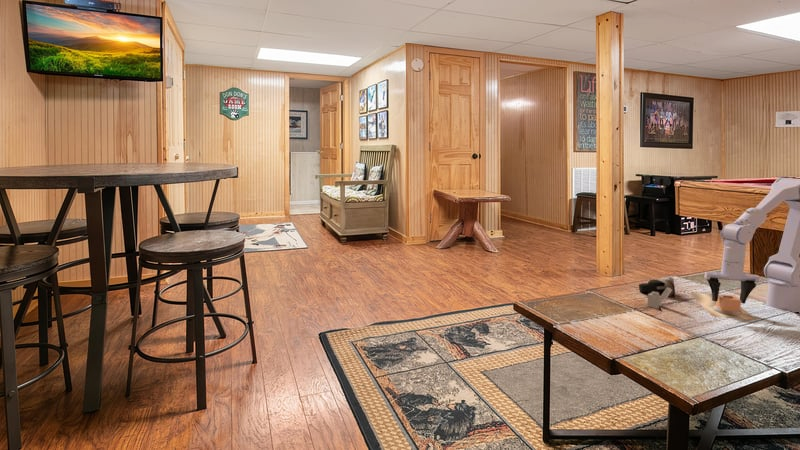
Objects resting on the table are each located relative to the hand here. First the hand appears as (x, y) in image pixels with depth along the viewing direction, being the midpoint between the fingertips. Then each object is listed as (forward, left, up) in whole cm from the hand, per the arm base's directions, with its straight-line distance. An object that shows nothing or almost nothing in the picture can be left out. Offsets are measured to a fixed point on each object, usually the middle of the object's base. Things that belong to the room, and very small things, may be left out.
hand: (728, 301), depth 146 cm
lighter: (+20, 0, -5) cm, 21 cm away
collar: (0, 0, -3) cm, 3 cm away
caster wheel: (+18, -16, -5) cm, 24 cm away
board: (0, -6, -4) cm, 7 cm away
